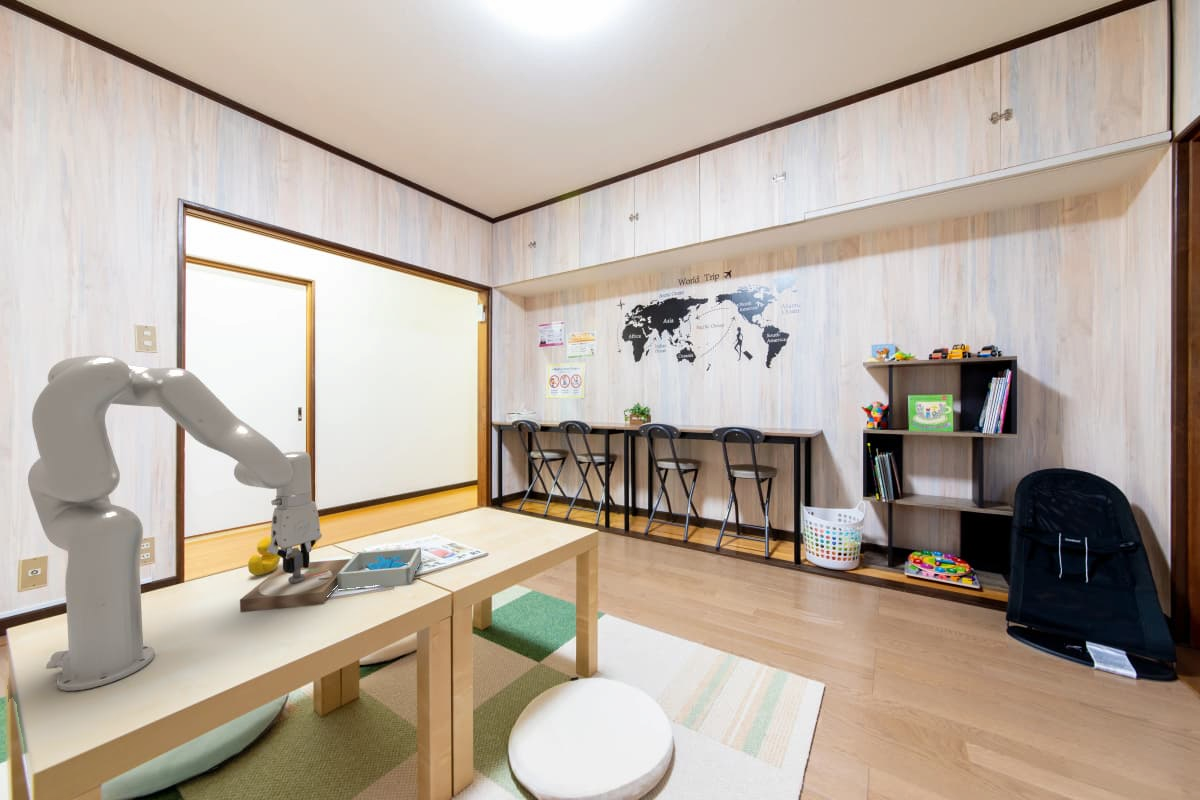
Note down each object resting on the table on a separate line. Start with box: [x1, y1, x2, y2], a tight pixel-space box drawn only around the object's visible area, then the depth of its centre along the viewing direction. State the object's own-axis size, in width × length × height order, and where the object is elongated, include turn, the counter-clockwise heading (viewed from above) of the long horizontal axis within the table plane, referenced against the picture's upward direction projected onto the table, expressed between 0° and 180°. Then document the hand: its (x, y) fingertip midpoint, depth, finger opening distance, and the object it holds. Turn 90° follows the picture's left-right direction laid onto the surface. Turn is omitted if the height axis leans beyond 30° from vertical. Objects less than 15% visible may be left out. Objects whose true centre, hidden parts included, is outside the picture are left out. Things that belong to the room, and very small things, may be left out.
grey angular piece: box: [288, 547, 328, 583], centre depth 120 cm, size 9×7×8 cm
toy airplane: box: [365, 555, 406, 570], centre depth 129 cm, size 12×10×4 cm
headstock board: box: [239, 558, 351, 613], centre depth 121 cm, size 18×22×3 cm
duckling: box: [247, 536, 281, 576], centre depth 132 cm, size 11×5×10 cm, turn 178°
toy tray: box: [337, 546, 422, 590], centre depth 129 cm, size 18×16×4 cm
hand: (296, 569), depth 118 cm, fingers closed on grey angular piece, 3 cm apart
